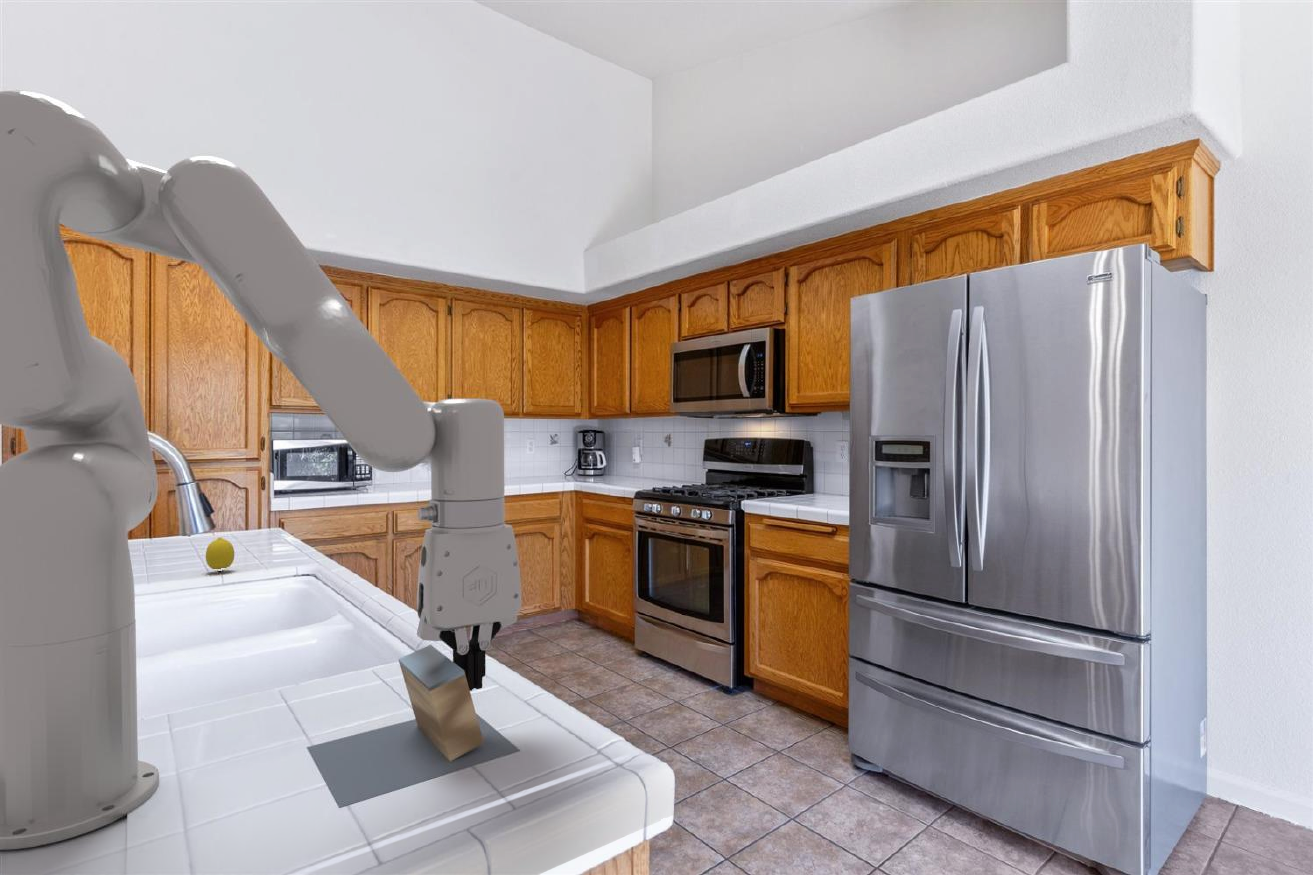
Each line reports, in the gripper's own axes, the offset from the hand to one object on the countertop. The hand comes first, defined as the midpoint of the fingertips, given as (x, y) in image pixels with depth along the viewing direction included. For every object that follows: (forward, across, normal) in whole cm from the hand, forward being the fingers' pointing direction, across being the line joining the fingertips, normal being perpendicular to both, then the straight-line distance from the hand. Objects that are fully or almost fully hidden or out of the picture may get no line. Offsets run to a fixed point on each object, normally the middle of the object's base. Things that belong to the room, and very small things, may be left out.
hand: (469, 685), depth 73 cm
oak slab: (+5, -2, 0) cm, 5 cm away
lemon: (+6, -13, +114) cm, 115 cm away
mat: (+5, -6, 0) cm, 8 cm away
